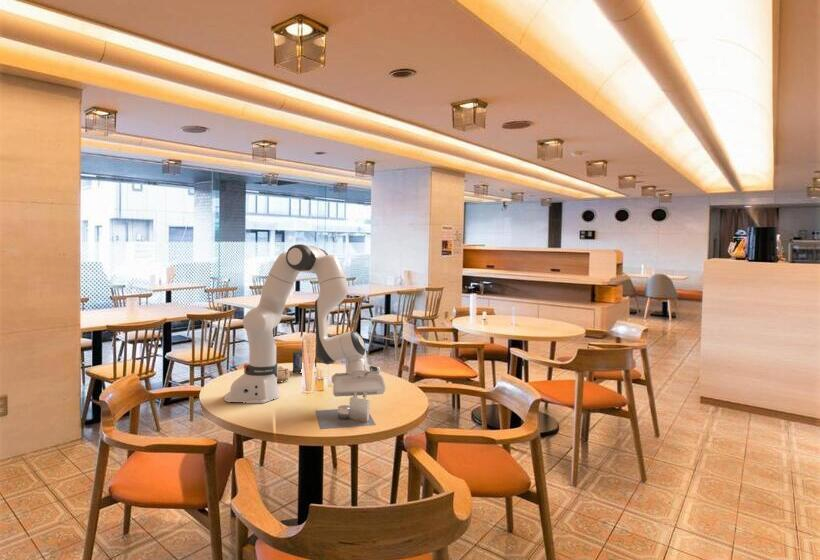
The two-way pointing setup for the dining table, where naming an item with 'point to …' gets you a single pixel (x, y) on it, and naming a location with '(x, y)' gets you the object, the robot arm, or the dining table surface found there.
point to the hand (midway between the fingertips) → (361, 404)
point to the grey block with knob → (355, 409)
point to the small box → (298, 361)
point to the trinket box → (282, 373)
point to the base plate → (339, 420)
